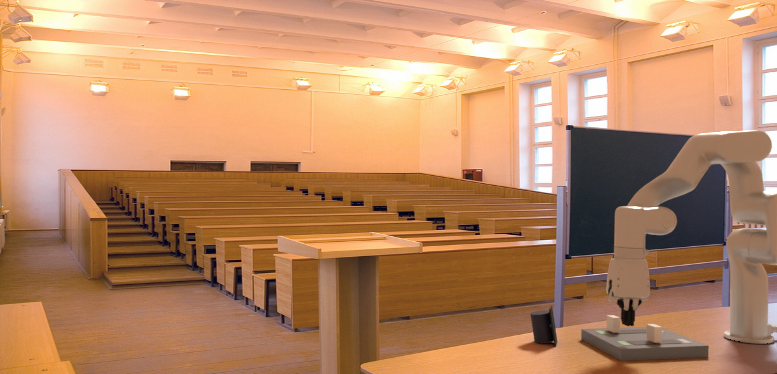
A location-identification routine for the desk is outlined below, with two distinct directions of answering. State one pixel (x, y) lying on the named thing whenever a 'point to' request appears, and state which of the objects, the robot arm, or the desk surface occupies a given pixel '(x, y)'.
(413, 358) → the desk surface
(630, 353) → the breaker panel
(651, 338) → the block
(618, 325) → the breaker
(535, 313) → the speaker
